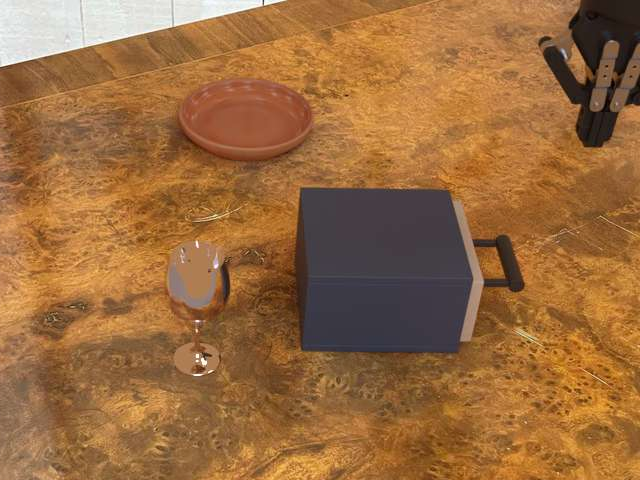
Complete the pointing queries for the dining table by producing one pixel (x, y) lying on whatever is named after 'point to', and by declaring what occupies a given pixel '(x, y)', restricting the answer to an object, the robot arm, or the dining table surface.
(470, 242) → the drawer
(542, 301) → the dining table surface
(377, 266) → the cabinet
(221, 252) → the wineglass
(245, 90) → the saucer
